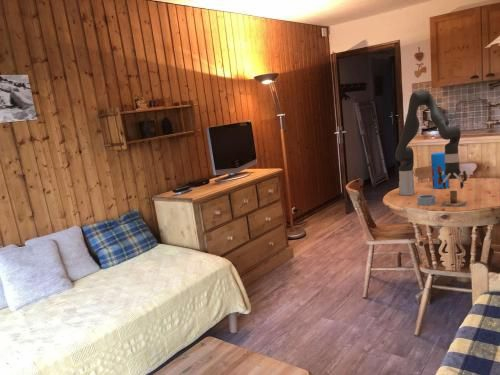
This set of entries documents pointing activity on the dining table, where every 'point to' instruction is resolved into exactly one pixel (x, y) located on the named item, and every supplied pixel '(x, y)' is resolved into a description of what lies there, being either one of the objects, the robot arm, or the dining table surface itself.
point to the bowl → (426, 200)
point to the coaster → (453, 206)
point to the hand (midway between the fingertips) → (453, 188)
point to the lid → (453, 200)
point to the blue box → (438, 170)
